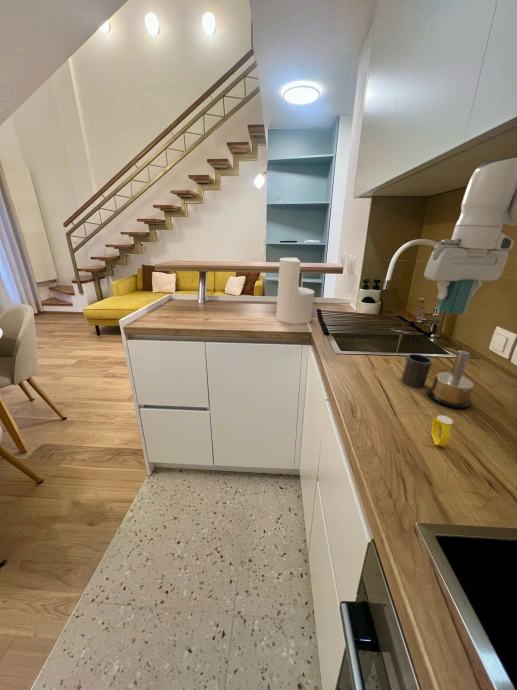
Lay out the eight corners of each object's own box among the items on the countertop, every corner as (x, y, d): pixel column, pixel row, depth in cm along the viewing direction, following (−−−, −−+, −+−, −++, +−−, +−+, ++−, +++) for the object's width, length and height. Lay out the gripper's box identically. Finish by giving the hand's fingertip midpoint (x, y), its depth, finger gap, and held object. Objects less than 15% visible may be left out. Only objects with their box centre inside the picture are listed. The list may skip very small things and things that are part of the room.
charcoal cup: (420, 378, 86) (427, 355, 82) (427, 389, 80) (435, 364, 77) (399, 376, 87) (405, 352, 84) (404, 386, 81) (410, 361, 78)
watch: (426, 430, 63) (433, 409, 61) (440, 433, 63) (447, 411, 60) (433, 449, 58) (441, 426, 56) (448, 452, 57) (457, 429, 55)
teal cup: (459, 308, 74) (469, 278, 71) (470, 315, 68) (481, 282, 65) (433, 306, 75) (442, 276, 72) (442, 312, 69) (452, 280, 66)
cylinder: (276, 322, 131) (280, 261, 120) (276, 312, 147) (279, 257, 136) (313, 324, 131) (320, 262, 120) (308, 313, 146) (314, 258, 135)
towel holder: (460, 391, 79) (476, 346, 74) (477, 412, 70) (497, 363, 65) (422, 386, 81) (435, 342, 76) (434, 406, 72) (450, 358, 67)
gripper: (450, 239, 60) (431, 302, 65) (519, 241, 65) (497, 300, 70) (426, 238, 65) (411, 296, 71) (492, 240, 70) (473, 294, 76)
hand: (454, 298), depth 70 cm, fingers closed on teal cup, 6 cm apart
